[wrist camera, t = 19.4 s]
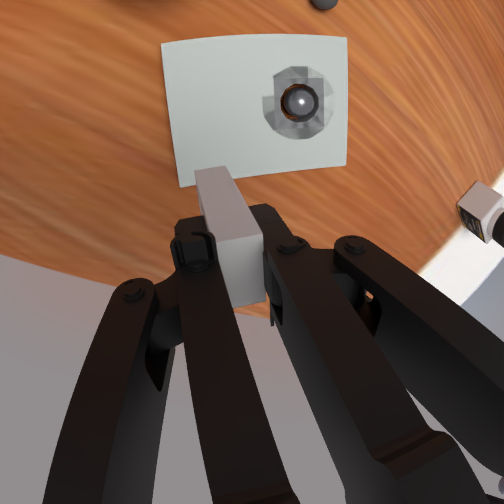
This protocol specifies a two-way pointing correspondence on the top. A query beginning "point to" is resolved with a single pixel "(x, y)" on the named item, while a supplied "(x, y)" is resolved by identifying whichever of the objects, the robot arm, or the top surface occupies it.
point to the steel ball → (299, 102)
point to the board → (255, 103)
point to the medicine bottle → (483, 213)
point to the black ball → (325, 3)
